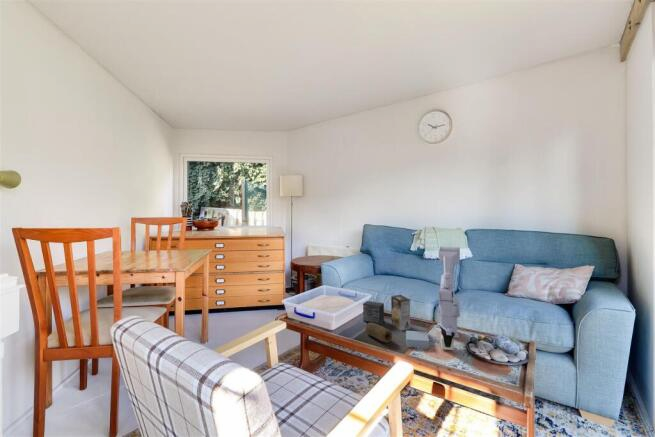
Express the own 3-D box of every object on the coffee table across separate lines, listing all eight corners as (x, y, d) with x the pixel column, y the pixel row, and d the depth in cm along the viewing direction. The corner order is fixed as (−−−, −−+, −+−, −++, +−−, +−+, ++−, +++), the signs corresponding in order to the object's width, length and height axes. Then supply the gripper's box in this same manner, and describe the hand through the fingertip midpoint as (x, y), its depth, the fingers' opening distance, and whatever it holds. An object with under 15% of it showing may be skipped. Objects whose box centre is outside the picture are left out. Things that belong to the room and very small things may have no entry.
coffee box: (391, 324, 168) (390, 296, 167) (400, 322, 170) (400, 294, 170) (400, 331, 159) (400, 300, 159) (411, 328, 162) (410, 299, 161)
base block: (406, 338, 151) (405, 330, 151) (427, 339, 149) (427, 331, 149) (406, 347, 142) (406, 339, 141) (429, 349, 139) (429, 341, 139)
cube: (440, 344, 142) (440, 333, 142) (452, 345, 141) (452, 334, 141) (441, 349, 137) (441, 338, 137) (453, 350, 136) (453, 339, 136)
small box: (384, 321, 173) (384, 302, 173) (380, 325, 168) (380, 306, 167) (367, 317, 179) (367, 300, 179) (363, 321, 174) (362, 303, 173)
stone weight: (394, 341, 148) (394, 328, 148) (384, 345, 144) (384, 331, 144) (373, 331, 160) (373, 318, 160) (363, 335, 156) (363, 322, 156)
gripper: (436, 308, 146) (436, 336, 147) (438, 320, 132) (439, 350, 133) (451, 309, 145) (451, 337, 145) (456, 321, 131) (456, 352, 131)
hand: (447, 344), depth 139 cm, fingers closed on cube, 5 cm apart
